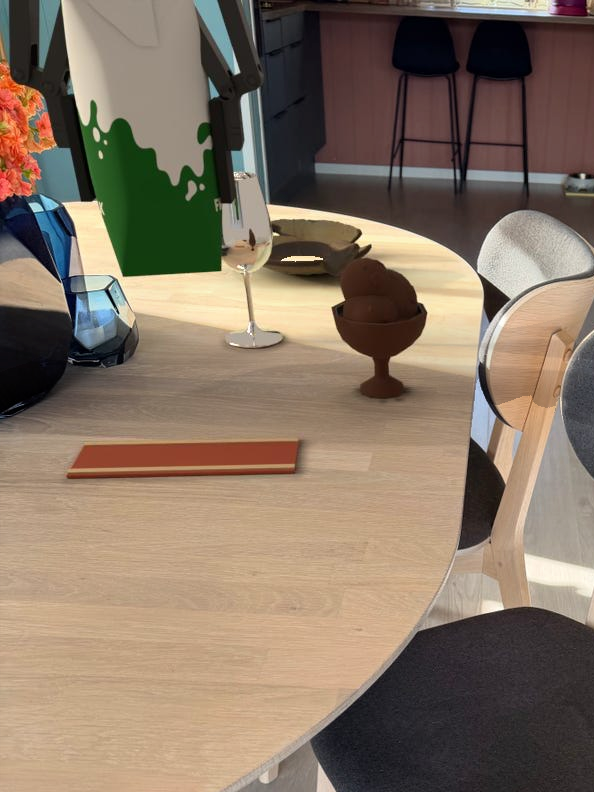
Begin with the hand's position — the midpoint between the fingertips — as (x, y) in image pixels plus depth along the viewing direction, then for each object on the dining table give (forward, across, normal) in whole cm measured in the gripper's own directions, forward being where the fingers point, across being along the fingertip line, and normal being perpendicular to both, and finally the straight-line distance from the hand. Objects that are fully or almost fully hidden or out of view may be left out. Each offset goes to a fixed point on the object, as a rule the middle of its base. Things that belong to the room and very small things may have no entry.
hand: (160, 198), depth 69 cm
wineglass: (+28, -2, +50) cm, 57 cm away
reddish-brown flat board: (+27, -4, +13) cm, 30 cm away
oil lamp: (+28, +3, +83) cm, 88 cm away
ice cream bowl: (+27, +16, +31) cm, 44 cm away
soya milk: (+5, 0, 0) cm, 5 cm away
